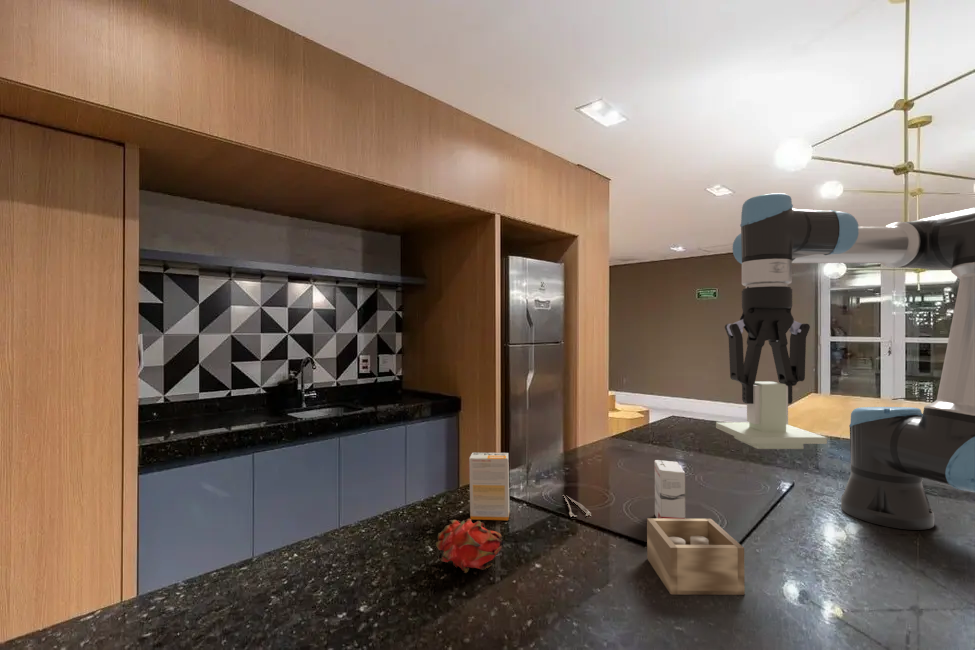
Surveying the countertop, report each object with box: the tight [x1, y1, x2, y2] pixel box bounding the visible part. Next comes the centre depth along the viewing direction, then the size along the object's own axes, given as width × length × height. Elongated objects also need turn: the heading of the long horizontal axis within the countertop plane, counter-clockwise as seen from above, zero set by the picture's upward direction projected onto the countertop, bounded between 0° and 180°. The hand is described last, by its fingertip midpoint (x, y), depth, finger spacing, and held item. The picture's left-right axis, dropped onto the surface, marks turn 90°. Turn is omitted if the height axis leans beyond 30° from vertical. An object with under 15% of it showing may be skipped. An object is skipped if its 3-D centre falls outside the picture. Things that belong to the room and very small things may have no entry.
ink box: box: [654, 459, 686, 519], centre depth 98 cm, size 9×5×12 cm, turn 168°
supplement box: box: [468, 452, 510, 522], centre depth 101 cm, size 8×5×13 cm, turn 84°
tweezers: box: [562, 494, 592, 518], centre depth 109 cm, size 17×5×2 cm, turn 6°
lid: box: [715, 381, 828, 450], centre depth 82 cm, size 12×12×10 cm
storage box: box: [646, 517, 746, 596], centre depth 77 cm, size 11×11×7 cm
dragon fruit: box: [434, 518, 506, 574], centre depth 80 cm, size 8×8×12 cm
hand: (767, 422), depth 82 cm, fingers closed on lid, 4 cm apart
